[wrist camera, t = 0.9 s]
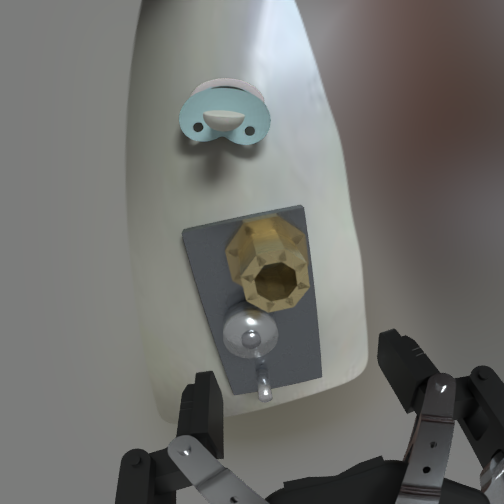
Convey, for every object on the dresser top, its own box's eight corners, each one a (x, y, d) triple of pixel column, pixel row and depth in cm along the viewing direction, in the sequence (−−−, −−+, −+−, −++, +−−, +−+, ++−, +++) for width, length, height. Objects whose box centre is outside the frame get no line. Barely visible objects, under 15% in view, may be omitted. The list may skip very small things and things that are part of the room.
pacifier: (188, 78, 22) (181, 141, 24) (177, 56, 16) (167, 137, 18) (271, 84, 23) (264, 147, 25) (283, 63, 17) (275, 144, 19)
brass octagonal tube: (219, 224, 25) (217, 247, 20) (298, 208, 25) (317, 226, 20) (236, 294, 28) (238, 330, 22) (308, 279, 28) (326, 311, 22)
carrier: (183, 229, 27) (173, 248, 22) (300, 204, 27) (316, 218, 22) (233, 388, 34) (235, 419, 29) (319, 370, 34) (330, 400, 29)
